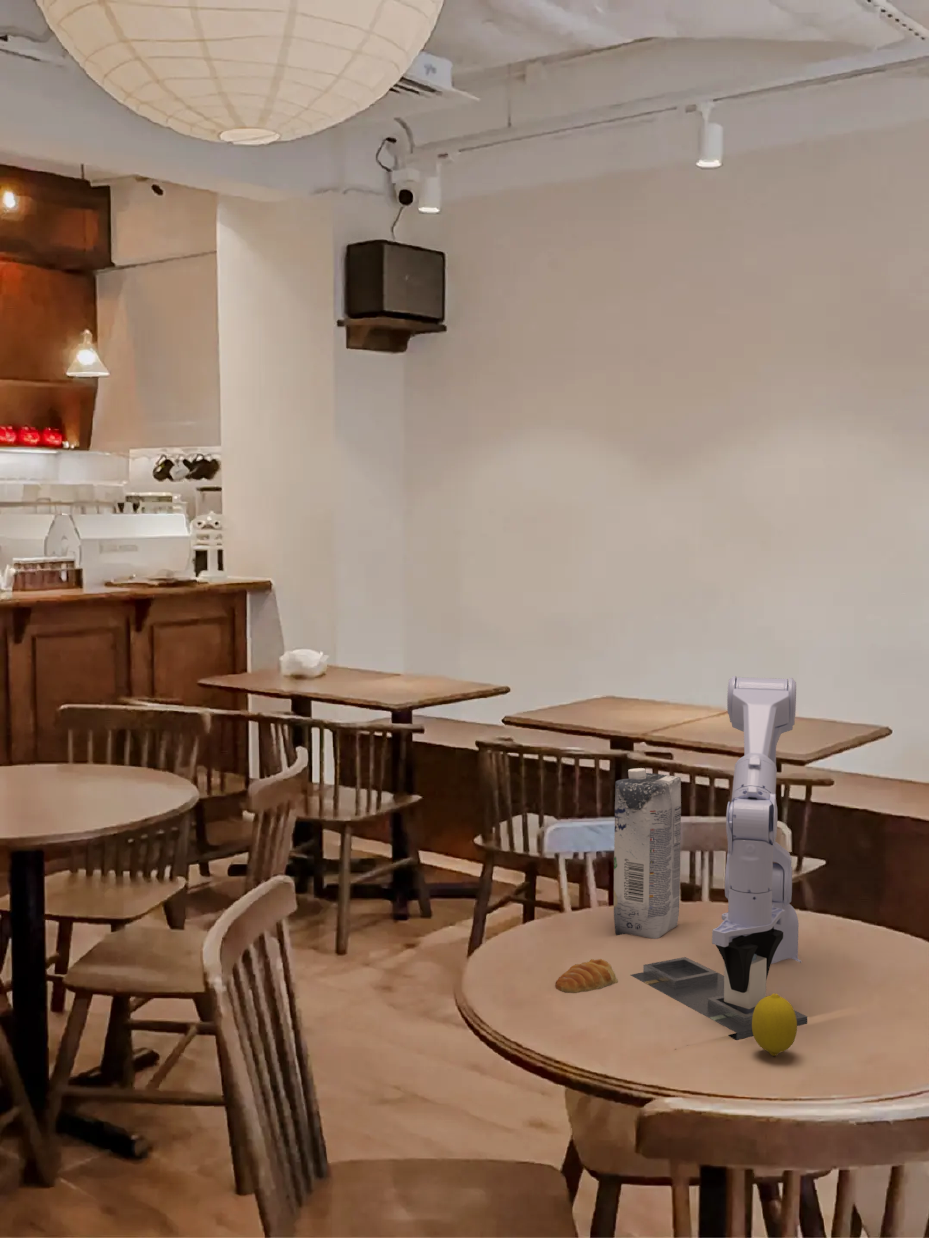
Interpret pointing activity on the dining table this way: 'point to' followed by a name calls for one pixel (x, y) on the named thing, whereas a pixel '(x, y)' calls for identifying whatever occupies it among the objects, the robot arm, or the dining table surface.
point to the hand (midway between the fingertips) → (748, 986)
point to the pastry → (586, 977)
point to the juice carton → (647, 853)
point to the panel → (701, 993)
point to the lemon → (774, 1024)
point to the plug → (755, 985)
